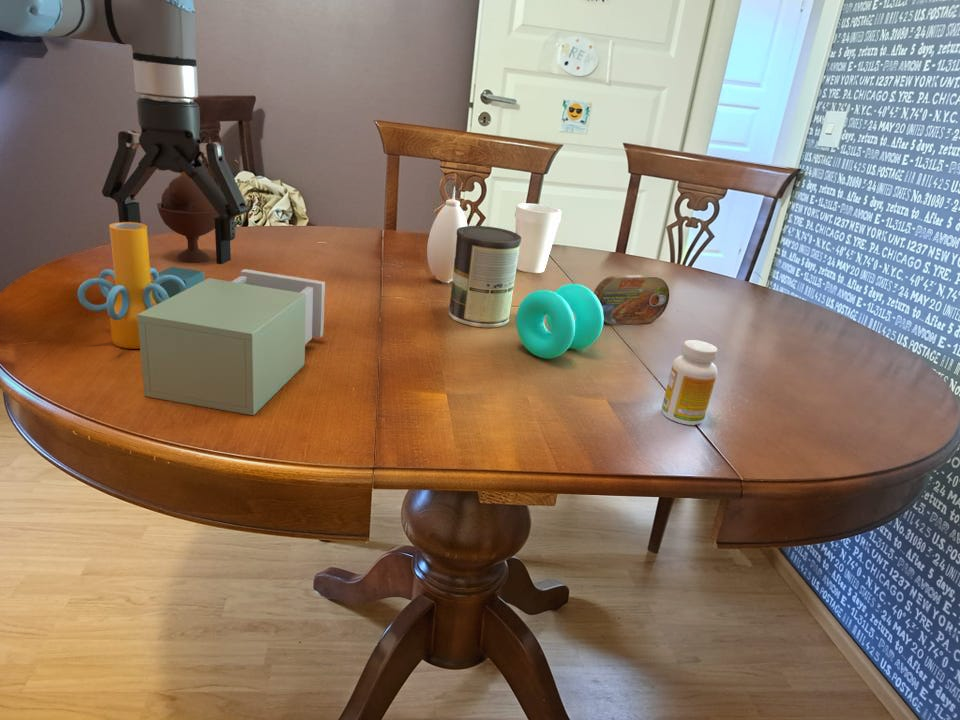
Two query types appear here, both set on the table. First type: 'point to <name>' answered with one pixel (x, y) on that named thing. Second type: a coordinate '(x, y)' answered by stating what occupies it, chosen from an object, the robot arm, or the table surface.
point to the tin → (632, 299)
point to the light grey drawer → (294, 284)
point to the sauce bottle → (445, 240)
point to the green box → (222, 345)
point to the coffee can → (483, 276)
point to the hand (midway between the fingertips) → (179, 255)
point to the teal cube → (185, 275)
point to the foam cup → (535, 235)
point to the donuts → (559, 320)
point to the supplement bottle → (690, 383)
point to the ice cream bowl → (187, 215)
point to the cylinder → (128, 283)
